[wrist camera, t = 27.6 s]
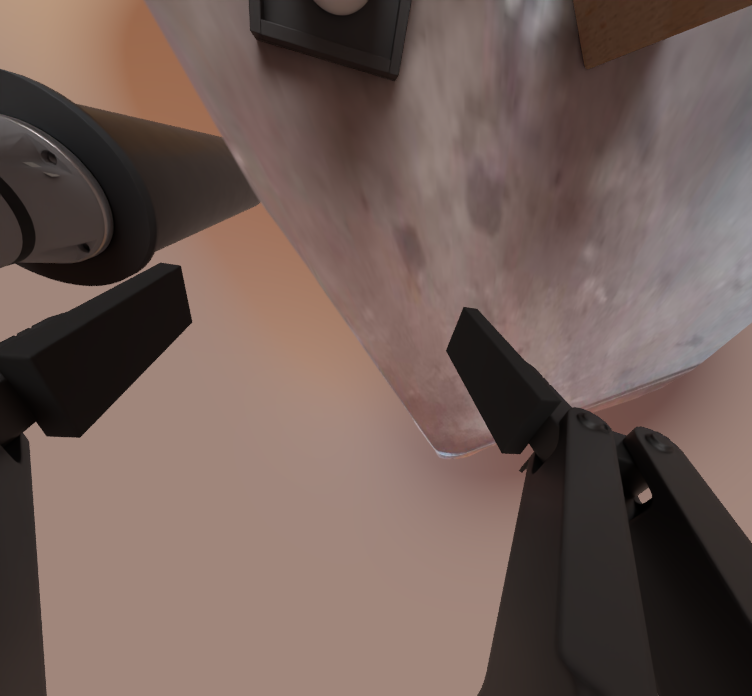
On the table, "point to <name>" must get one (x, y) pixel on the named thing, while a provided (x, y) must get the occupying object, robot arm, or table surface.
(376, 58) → the black tray
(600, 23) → the wooden block
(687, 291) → the table surface
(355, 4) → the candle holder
